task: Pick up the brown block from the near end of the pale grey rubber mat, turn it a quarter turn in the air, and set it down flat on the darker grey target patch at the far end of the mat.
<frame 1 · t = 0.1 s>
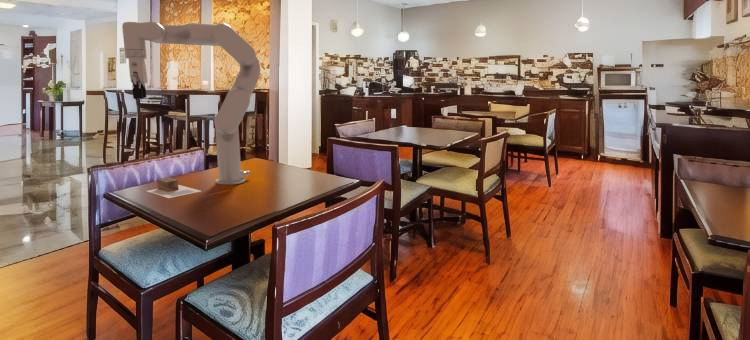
hand: (140, 98, 185), 37 cm above the table, tool pointing down, fingers open, 9 cm apart
mat: (173, 192, 184), on the table
brown block: (168, 189, 187), resting on mat
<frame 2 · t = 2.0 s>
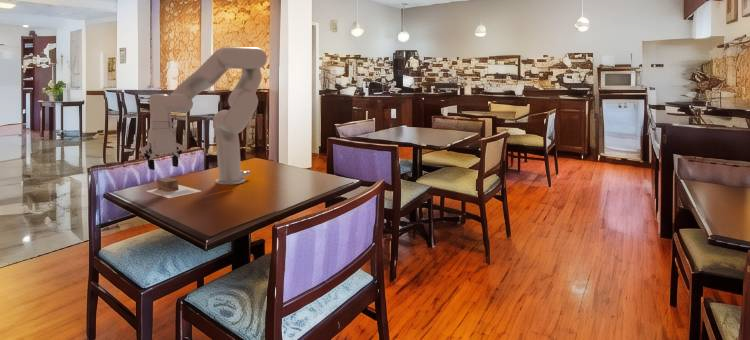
hand: (163, 168, 184), 9 cm above the table, tool pointing down, fingers open, 9 cm apart
nothing on the table moved.
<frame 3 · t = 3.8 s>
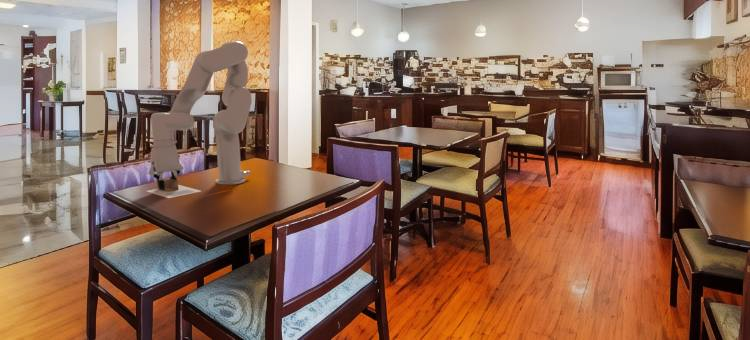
hand: (167, 187, 187), 1 cm above the table, tool pointing down, fingers closed on brown block, 4 cm apart
brown block: (168, 189, 187), resting on mat, touching gripper
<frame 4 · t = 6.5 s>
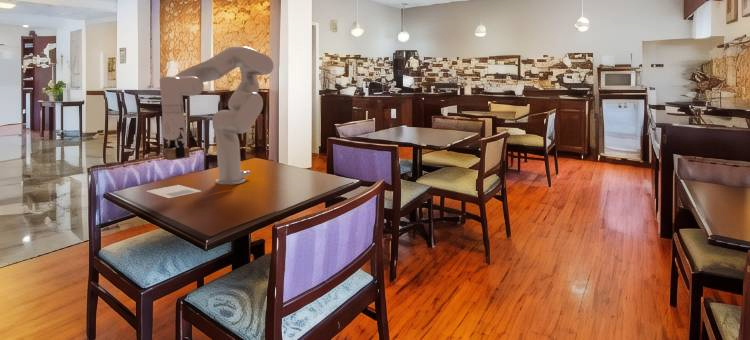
hand: (177, 156, 178), 15 cm above the table, tool pointing down, fingers closed on brown block, 4 cm apart
brown block: (177, 158, 178), point 14 cm above the table, touching gripper
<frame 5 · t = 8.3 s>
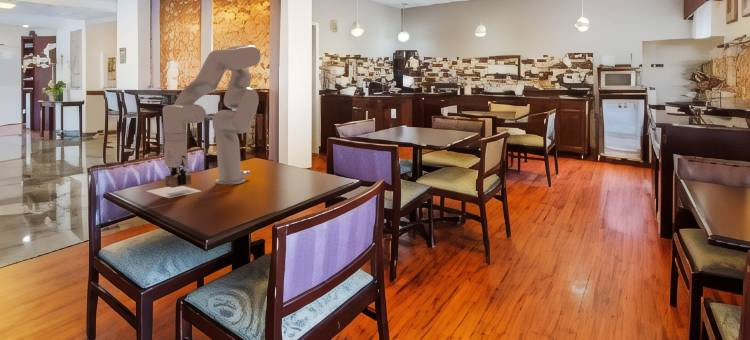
hand: (178, 183, 180), 4 cm above the table, tool pointing down, fingers closed on brown block, 4 cm apart
brown block: (178, 185, 180), point 4 cm above the table, touching gripper
when the fingers open (2 cm above the table, at t = 9.6 s): brown block stays where it is, resting on mat.
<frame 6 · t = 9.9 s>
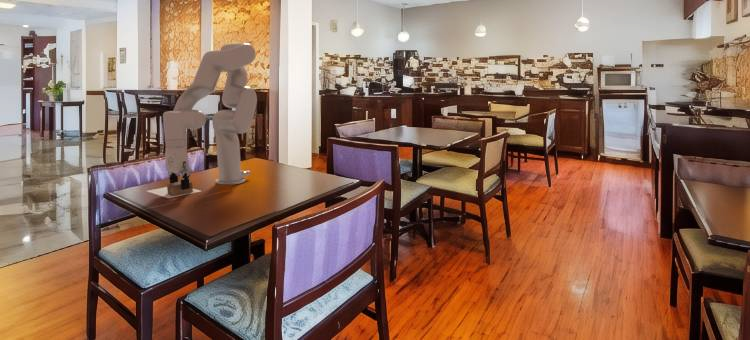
hand: (179, 187, 181), 3 cm above the table, tool pointing down, fingers open, 7 cm apart
brown block: (180, 192, 181), resting on mat
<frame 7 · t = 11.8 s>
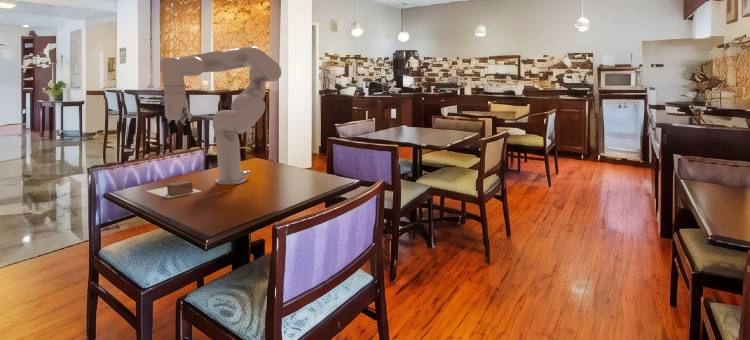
hand: (180, 134, 181), 23 cm above the table, tool pointing down, fingers open, 9 cm apart
nothing on the table moved.
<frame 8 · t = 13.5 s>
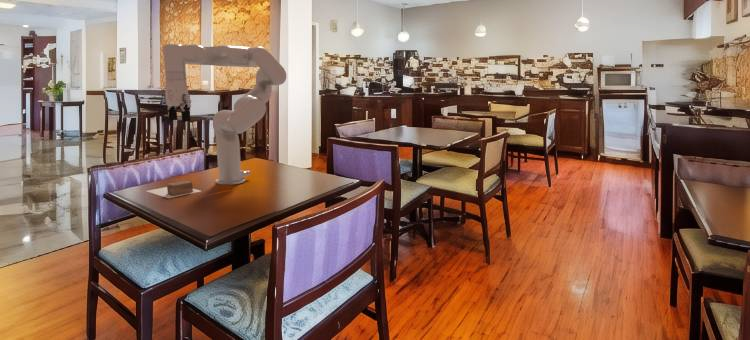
hand: (179, 120, 182), 28 cm above the table, tool pointing down, fingers open, 9 cm apart
nothing on the table moved.
at the end: brown block 0.0 cm from the target spot on the mat, point 0.4 cm above the mat's base; brown block tilted 0°; the gripper is holding nothing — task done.
